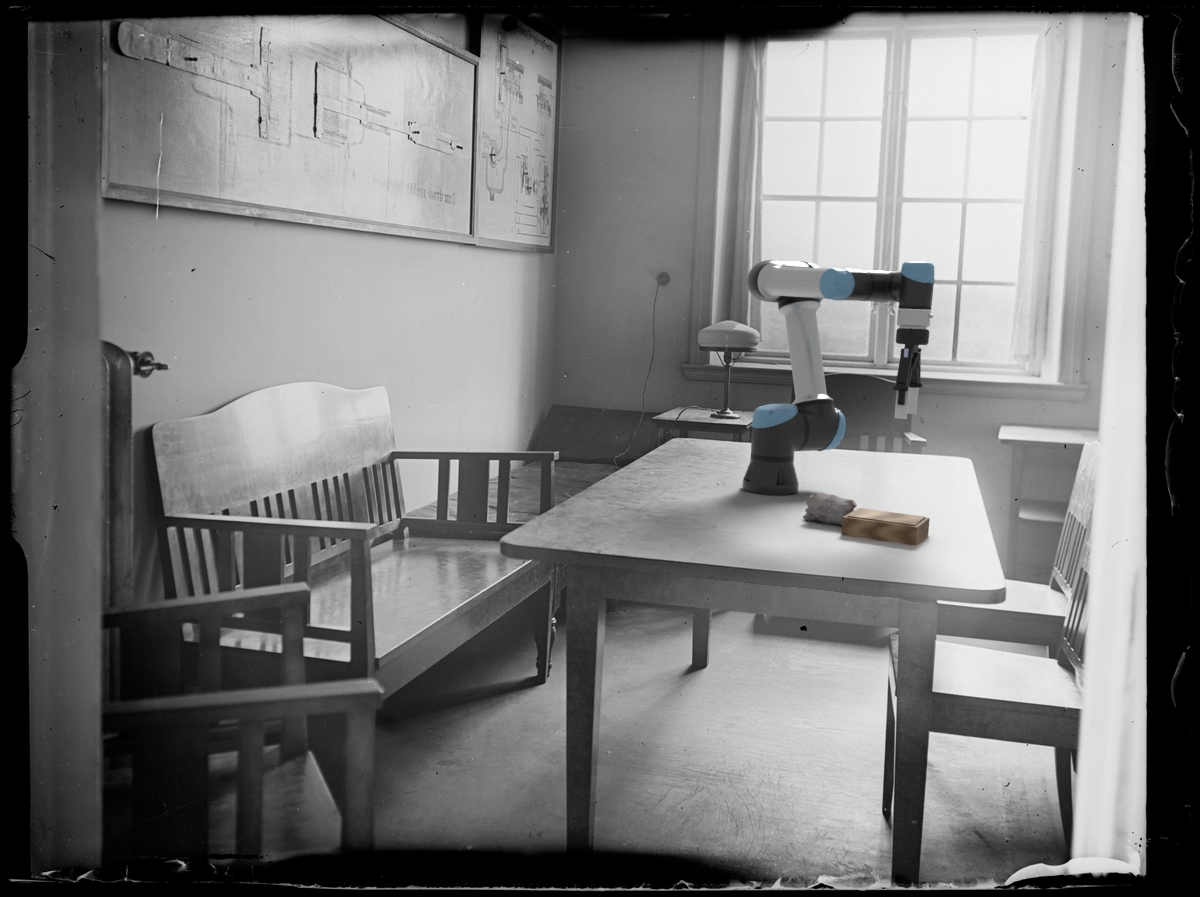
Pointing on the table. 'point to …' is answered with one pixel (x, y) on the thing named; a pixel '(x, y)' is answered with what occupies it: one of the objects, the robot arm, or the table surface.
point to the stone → (828, 508)
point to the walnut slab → (886, 526)
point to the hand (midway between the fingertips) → (905, 416)
